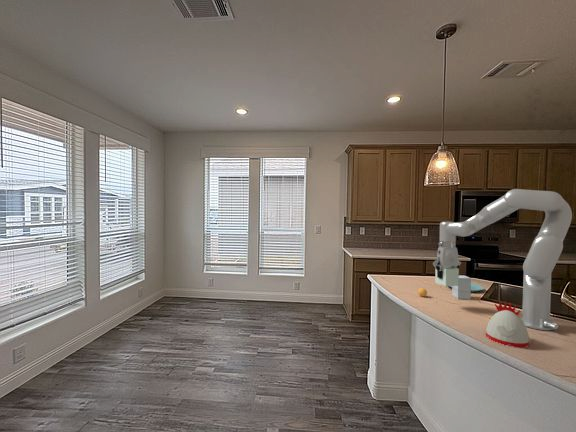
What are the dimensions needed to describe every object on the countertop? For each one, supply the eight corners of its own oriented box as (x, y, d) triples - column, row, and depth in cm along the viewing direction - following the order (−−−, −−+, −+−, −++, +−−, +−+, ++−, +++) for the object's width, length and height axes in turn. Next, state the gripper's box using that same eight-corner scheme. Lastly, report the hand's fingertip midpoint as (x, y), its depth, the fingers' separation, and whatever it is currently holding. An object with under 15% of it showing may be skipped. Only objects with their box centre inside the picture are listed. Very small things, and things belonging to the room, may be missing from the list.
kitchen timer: (487, 329, 127) (488, 295, 126) (529, 338, 118) (530, 301, 118) (484, 340, 116) (485, 302, 116) (529, 351, 107) (530, 310, 107)
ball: (430, 292, 172) (425, 286, 176) (422, 292, 171) (418, 286, 175) (426, 298, 175) (422, 291, 179) (419, 298, 174) (415, 291, 178)
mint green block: (458, 285, 153) (458, 268, 153) (445, 286, 151) (445, 269, 151) (447, 282, 160) (447, 266, 160) (435, 282, 159) (435, 266, 159)
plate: (492, 294, 183) (492, 290, 183) (455, 293, 184) (455, 288, 184) (472, 285, 205) (472, 281, 205) (439, 284, 206) (439, 280, 206)
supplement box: (464, 296, 178) (464, 275, 177) (470, 299, 170) (471, 278, 170) (451, 295, 178) (452, 274, 178) (457, 299, 171) (457, 277, 171)
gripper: (438, 245, 150) (437, 280, 150) (466, 245, 154) (466, 278, 154) (428, 244, 158) (427, 276, 158) (456, 243, 161) (455, 275, 161)
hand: (446, 277), depth 156 cm, fingers closed on mint green block, 7 cm apart
